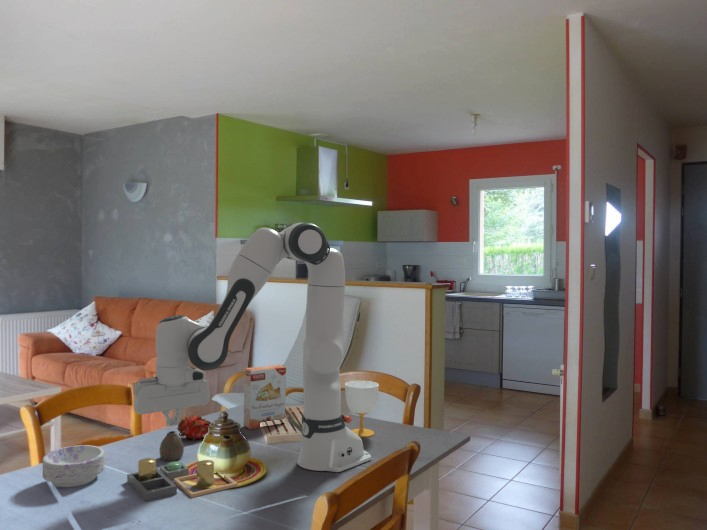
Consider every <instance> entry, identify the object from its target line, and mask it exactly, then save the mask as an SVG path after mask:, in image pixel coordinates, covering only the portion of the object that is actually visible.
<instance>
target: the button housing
mask: <svg viewBox="0 0 707 530" xmlns="http://www.w3.org/2000/svg"><path fill="white" fill-rule="evenodd" d="M159 470H160V471H161V472H162V473H163V474H164V475H165V476H166V477H167V478H169V479H170V480H171V481H172V480H174V478H178V477H183V476H187V475H190V474H189V473H190V471H189V470H190V469H189V467H188V466H186V465H185V464H184V463H183V462H181V469H179V470H174V471H170V472H169V471H167V464H165V465H159Z"/></svg>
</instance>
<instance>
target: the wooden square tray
mask: <svg viewBox="0 0 707 530" xmlns="http://www.w3.org/2000/svg"><path fill="white" fill-rule="evenodd" d="M191 479H192V480H193V479H197V472H196V473H193V474H189V475H187V476H183V477H178V478H174V479H173V483H174V484H175V485H176V486H177V487H179V488H180V489H181V490H182V491H183V492H185V493H186V494H187V495H188V496H189V497H190V498H197V497H200V496H203V495H204V496H205V495H208V494H212V493H216V492H221V491H224V490H228V489H232V488H237V487H238V482H237V481H235V480H234V479H233V478H231V477H230V476H228V475H227V474H226V475H224V479H223V480H225V481H226V482H227V484H224V485H220V486H219V485H218V486H216V487H215V486H214V487H211V488H210V487H209V488H208V489H202V490H198V491H194V492H193V490H191V489H190V488H189V487H188V486H187V485H185V483H183V482H185V481H187V480H188V481H189V480H191Z"/></svg>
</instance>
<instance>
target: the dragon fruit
mask: <svg viewBox="0 0 707 530" xmlns="http://www.w3.org/2000/svg"><path fill="white" fill-rule="evenodd" d="M211 423H212V421H210V420H207V419H206V418H202V416H201V414H200V415H197V416H196V415H195V414H193V415H190V416H184V418H182V419H181V420H180V421H179V425H177V428H176V429H177V432H179V434H178V436H179V437H180V438H181V437H185V439H186V440H189V439H191V440H193V441H195V440H196V439H202V440H203V439H204V438H203V437H204V436H206V435H207V434H208V433H209V432H208V426H209V424H211ZM211 425H212V424H211Z"/></svg>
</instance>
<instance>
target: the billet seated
mask: <svg viewBox="0 0 707 530" xmlns="http://www.w3.org/2000/svg"><path fill="white" fill-rule="evenodd" d="M137 463H138V466H137V467H138V471H137V472H138V481H139V482H142V481H146V480H151V479H155V478H156V468H157V459H156V458H154V457H145V458H142V459H139V460H138V461H137Z"/></svg>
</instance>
